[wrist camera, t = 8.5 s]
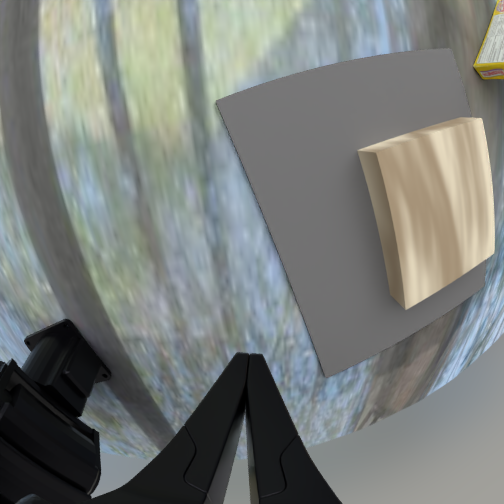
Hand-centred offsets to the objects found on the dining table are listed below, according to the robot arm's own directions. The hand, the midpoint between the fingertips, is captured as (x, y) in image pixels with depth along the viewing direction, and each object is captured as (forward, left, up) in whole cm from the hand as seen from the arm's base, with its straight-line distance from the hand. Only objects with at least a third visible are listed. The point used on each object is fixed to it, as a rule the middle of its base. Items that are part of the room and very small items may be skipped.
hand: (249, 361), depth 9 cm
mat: (+13, -3, -11) cm, 17 cm away
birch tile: (+10, -3, -9) cm, 14 cm away
